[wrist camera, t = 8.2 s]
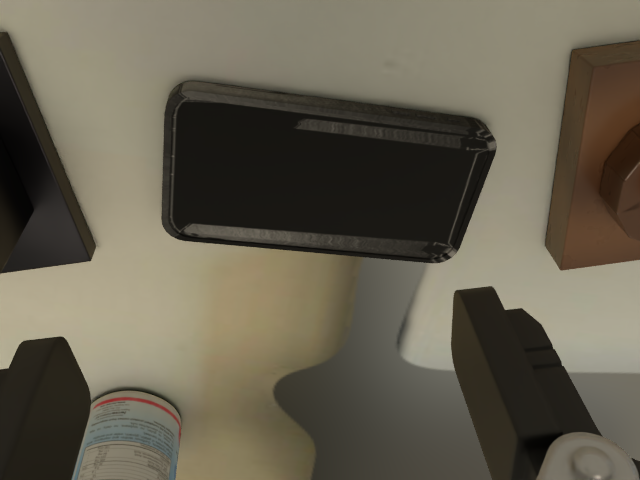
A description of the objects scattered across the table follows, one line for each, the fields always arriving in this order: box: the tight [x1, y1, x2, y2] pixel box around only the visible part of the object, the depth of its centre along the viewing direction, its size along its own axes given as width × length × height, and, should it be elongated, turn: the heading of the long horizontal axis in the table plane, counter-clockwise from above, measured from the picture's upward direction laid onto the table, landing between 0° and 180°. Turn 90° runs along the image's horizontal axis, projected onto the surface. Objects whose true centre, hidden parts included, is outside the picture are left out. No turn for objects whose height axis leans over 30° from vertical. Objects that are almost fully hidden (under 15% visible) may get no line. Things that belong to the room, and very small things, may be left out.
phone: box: [162, 81, 497, 263], centre depth 29 cm, size 8×1×15 cm
